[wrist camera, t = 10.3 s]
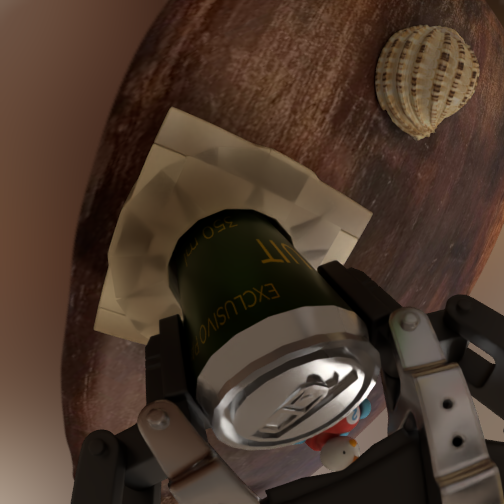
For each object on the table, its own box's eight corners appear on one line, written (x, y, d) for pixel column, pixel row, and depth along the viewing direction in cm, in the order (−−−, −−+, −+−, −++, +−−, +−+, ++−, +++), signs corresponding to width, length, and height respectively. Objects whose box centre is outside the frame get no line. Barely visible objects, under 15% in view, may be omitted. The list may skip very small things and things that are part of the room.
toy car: (367, 388, 32) (406, 444, 24) (329, 428, 35) (359, 481, 26) (316, 389, 28) (357, 461, 20) (277, 432, 31) (306, 497, 22)
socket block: (168, 107, 14) (168, 99, 9) (331, 188, 19) (377, 211, 14) (102, 282, 17) (89, 332, 12) (253, 324, 22) (275, 371, 17)
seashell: (416, 122, 21) (453, 33, 14) (457, 160, 18) (506, 60, 10) (350, 102, 19) (387, -8, 12) (394, 142, 15) (448, 7, 8)
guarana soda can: (229, 288, 19) (300, 454, 9) (156, 249, 16) (164, 442, 6) (279, 222, 18) (412, 356, 8) (208, 172, 15) (304, 295, 5)
